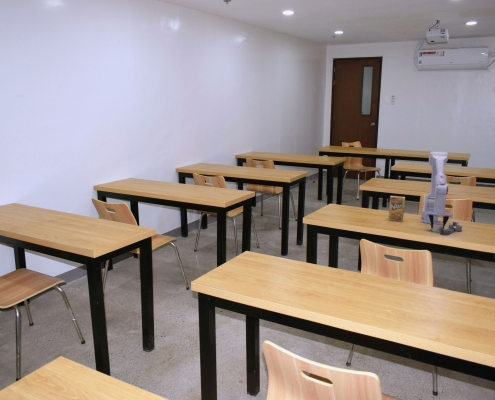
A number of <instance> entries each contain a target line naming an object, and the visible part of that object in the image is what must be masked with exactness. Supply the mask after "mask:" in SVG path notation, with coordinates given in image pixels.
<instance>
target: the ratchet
mask: <svg viewBox="0 0 495 400" xmlns="http://www.w3.org/2000/svg"><path fill="white" fill-rule="evenodd" d="M459 223H460V222H459V221H455V220H454V221H452V224H448V228H447V229H445V228H444V229H443V230H442V231H441V232H439V233H440V234H439V235H441V236H443V237H444V236H445V237H446V236H449V235H451V234H453V233H460V232H463V231H462V230H463V226H462V225H460V224H459Z"/></svg>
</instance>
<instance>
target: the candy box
mask: <svg viewBox="0 0 495 400" xmlns="http://www.w3.org/2000/svg"><path fill="white" fill-rule="evenodd" d="M405 202H406V197H405V196H397V195H390V197H389V205H388V207H389V208H388V218H387V220H388V221H393V222H399V223H400V222H401V223H403V221H404V215H405Z"/></svg>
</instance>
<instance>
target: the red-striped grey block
mask: <svg viewBox="0 0 495 400" xmlns="http://www.w3.org/2000/svg"><path fill="white" fill-rule="evenodd" d="M442 230H444V229H443V220H438V221H435V220H433V228H431V231H432V233H441V231H442Z"/></svg>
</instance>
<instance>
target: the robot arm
mask: <svg viewBox="0 0 495 400" xmlns="http://www.w3.org/2000/svg"><path fill="white" fill-rule="evenodd" d="M448 160H449V152H447V151H430V152H429V155H428V164H429V166H431V178H430V179H431V183H430V192H428V193H427V194H426V195H425V198H424V204H423V205H424V207H423V208H422V210H421V216H420V222H421V223H425V224H430V229H432V228H433V220H435V221H439V217H442V221H443V230H445V227H446V224H447V222H448V221H449V220H450V218H453V216H454V213H452V212H451V213H450V212H446V211H445V210H446V202H447V196H448V194H449V184H448V183H447V174H445V171H444V170H445V165H446V164H447V162H448Z"/></svg>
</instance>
